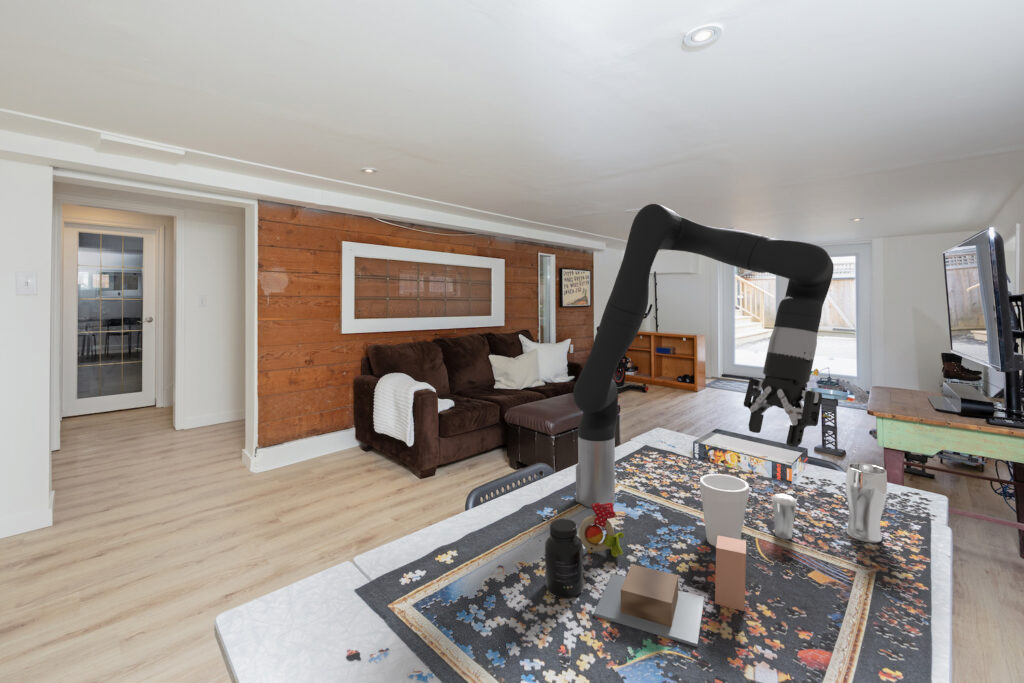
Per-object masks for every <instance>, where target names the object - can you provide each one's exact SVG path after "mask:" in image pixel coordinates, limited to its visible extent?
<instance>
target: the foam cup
mask: <svg viewBox="0 0 1024 683" xmlns="http://www.w3.org/2000/svg"><path fill="white" fill-rule="evenodd" d="M699 480H700V481H699V492H700V495H701V496H700V497H701V502H702V512H703V520H704V528H705V535H706V541H707V542H708V543H709V544H710V545H711V546H714V547H715V548H716V545H717V536H718V535H719V536H724V537H729V538H734V539H739V540H741V538H742V533H743V532H742V531H743V528H744V527H743V526H744V520H745V516H746V509H747V503H748V500H749V498H750V486H749V483H748V482H746V481H745V480H744V479H741V478H739V477H737V476H734V475H733V476H732V475H728V474H724V473H721V474H720V473H719V474H718V473H717V474H716V473H711V474H704V475H703V476H701V477H700V478H699Z"/></svg>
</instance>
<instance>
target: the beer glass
mask: <svg viewBox="0 0 1024 683" xmlns="http://www.w3.org/2000/svg"><path fill="white" fill-rule="evenodd" d="M887 473H888V472H887V470H886V469H885V468H884V467H881V466H878V465H875V464H870V463H865V462H851V463H848V464H847V471H846V475H845V476H846V478H845V495H846V502H847V507H848V516H849V517H848V522H847V527H846V531H845V532H846V534H847V535H848V536H849V537H851V538H853V539H855V540H857V541H861V542H866V543H871V544H875V543H876V544H877V543H879V542H882V539H883V537H882V532H881V519H882V516H883V515H882V514H883V512H884V509H885V506H886V502H887V498H888V497H887V495H888V477H887V476H888V475H887Z"/></svg>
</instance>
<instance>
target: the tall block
mask: <svg viewBox="0 0 1024 683" xmlns="http://www.w3.org/2000/svg"><path fill="white" fill-rule="evenodd" d="M746 566H747V540H744V539H740V540H739V539H734V538H729V537H724V536H719V535H718V536H717V545H716V547H715V588H714V590H715V591H714V592H715V593H714V604H715V605H718V606H719V605H720V606H723V607H727V608H731V609H733V610H734V609H735V610H739V611H742V612H745V610H746V606H745V605H746V576H747V575H746V574H747V573H746V572H747V570H746V568H747V567H746Z"/></svg>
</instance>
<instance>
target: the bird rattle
mask: <svg viewBox="0 0 1024 683" xmlns="http://www.w3.org/2000/svg"><path fill="white" fill-rule="evenodd" d="M591 507H592V508H591ZM591 507H590V508H591V509H592V510H593V512H594V515H589V516H587V517H585V518H584V519H583V520H582V521H581V523H580V525H579V527H578V528H579V529H578V537H579V538H580V540H581V541H582V544H583V547H585V548H586V550H587V553H588V554H593V553H601V552H604V551H606V550H607V549H610V553H611V556H613V557H614V558H617V557H618V556H622V555H623V554H624V552H623V550H622V548H621V546H620V538H624V537H625V535H624V533H623V532H620V531H619V532H617V533H615V530H614V527H613V525H612V523H611V522H610V521H609V519H612V518H615V517H616V514H617V512H616V511H614V504H612V503H606V504H601V503H597V504H596V503H593V504H592V505H591ZM602 528H603V529H602ZM604 531H605V532H606V533H605V534H604Z"/></svg>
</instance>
